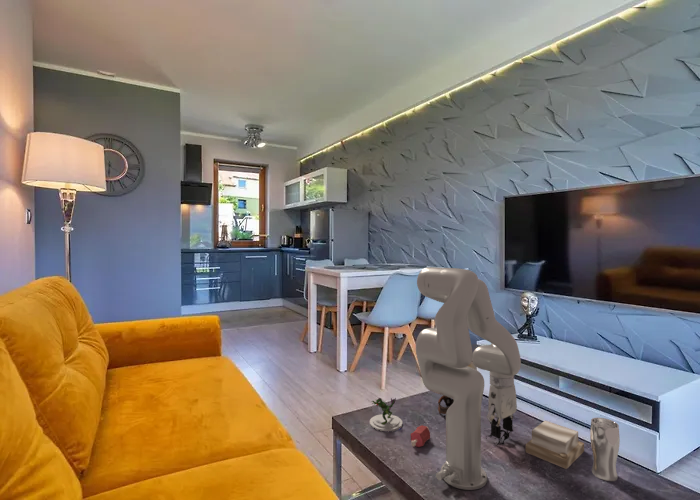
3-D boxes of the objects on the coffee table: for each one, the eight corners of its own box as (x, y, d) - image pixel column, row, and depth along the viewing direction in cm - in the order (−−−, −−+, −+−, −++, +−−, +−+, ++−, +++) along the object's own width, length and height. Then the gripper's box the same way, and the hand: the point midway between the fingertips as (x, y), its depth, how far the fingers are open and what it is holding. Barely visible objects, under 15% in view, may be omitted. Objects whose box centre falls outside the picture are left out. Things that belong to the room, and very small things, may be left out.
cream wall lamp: (566, 470, 112) (566, 446, 112) (525, 453, 121) (525, 431, 121) (584, 452, 121) (584, 430, 121) (544, 437, 131) (544, 417, 130)
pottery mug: (470, 418, 145) (462, 403, 143) (447, 429, 146) (439, 414, 143) (457, 398, 157) (450, 383, 154) (436, 408, 157) (429, 393, 154)
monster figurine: (363, 420, 144) (363, 393, 144) (390, 413, 150) (390, 387, 149) (380, 435, 133) (380, 406, 133) (409, 427, 139) (408, 398, 139)
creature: (488, 449, 125) (514, 446, 123) (484, 433, 125) (510, 430, 123) (485, 437, 133) (508, 434, 131) (481, 422, 133) (505, 418, 131)
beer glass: (625, 479, 107) (625, 426, 107) (606, 484, 105) (606, 430, 105) (602, 465, 114) (602, 415, 113) (584, 470, 112) (584, 419, 111)
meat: (421, 452, 121) (417, 436, 122) (408, 452, 124) (403, 436, 125) (436, 435, 131) (432, 421, 132) (423, 435, 134) (419, 421, 134)
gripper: (497, 390, 120) (497, 446, 120) (526, 377, 130) (526, 429, 131) (476, 383, 126) (476, 437, 126) (505, 371, 136) (505, 421, 137)
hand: (501, 432), depth 128 cm, fingers closed on creature, 6 cm apart
